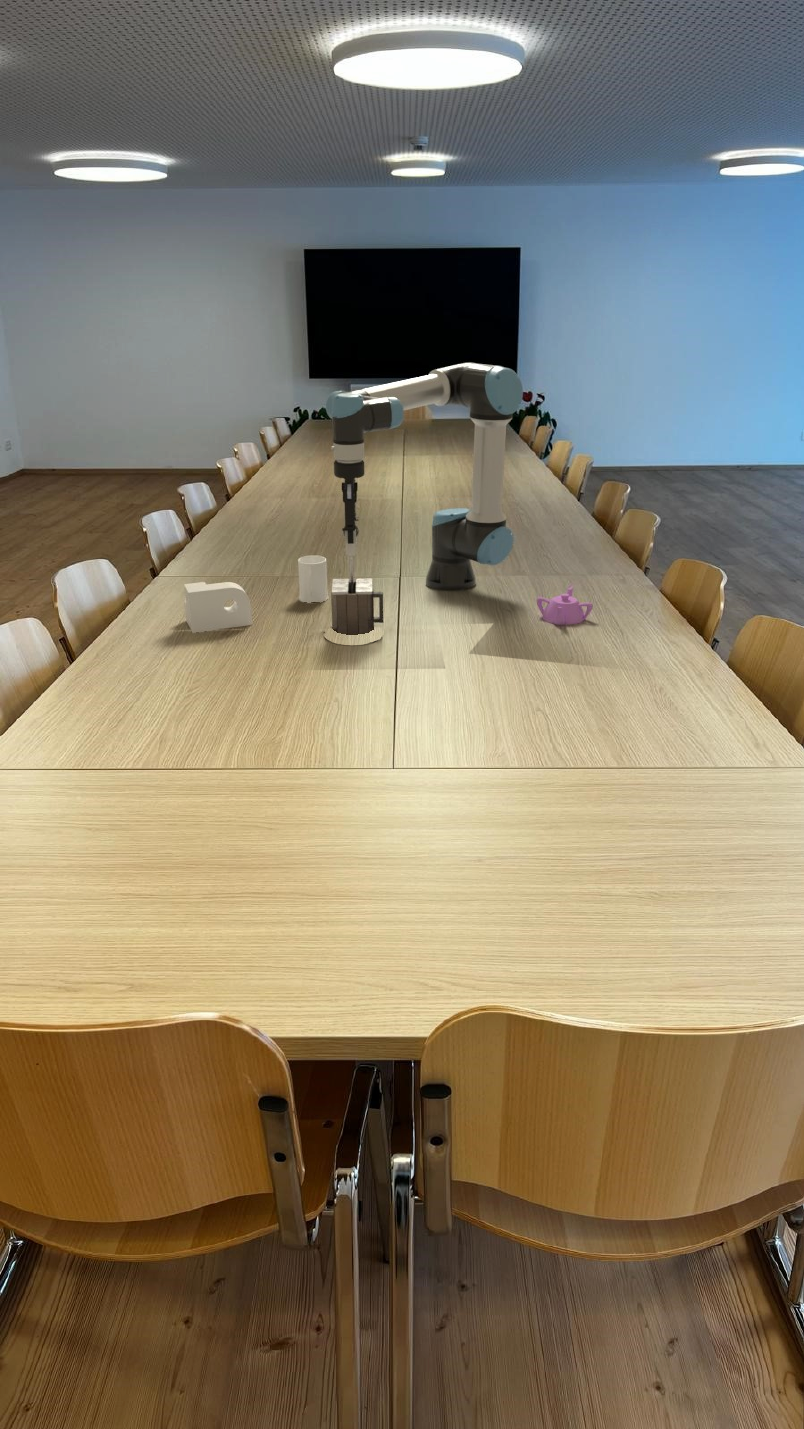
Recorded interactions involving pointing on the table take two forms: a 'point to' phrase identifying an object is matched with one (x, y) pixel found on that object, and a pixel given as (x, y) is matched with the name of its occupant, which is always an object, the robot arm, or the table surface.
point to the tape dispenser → (216, 606)
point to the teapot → (563, 609)
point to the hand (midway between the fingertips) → (351, 550)
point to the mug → (312, 579)
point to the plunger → (352, 567)
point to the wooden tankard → (354, 606)
